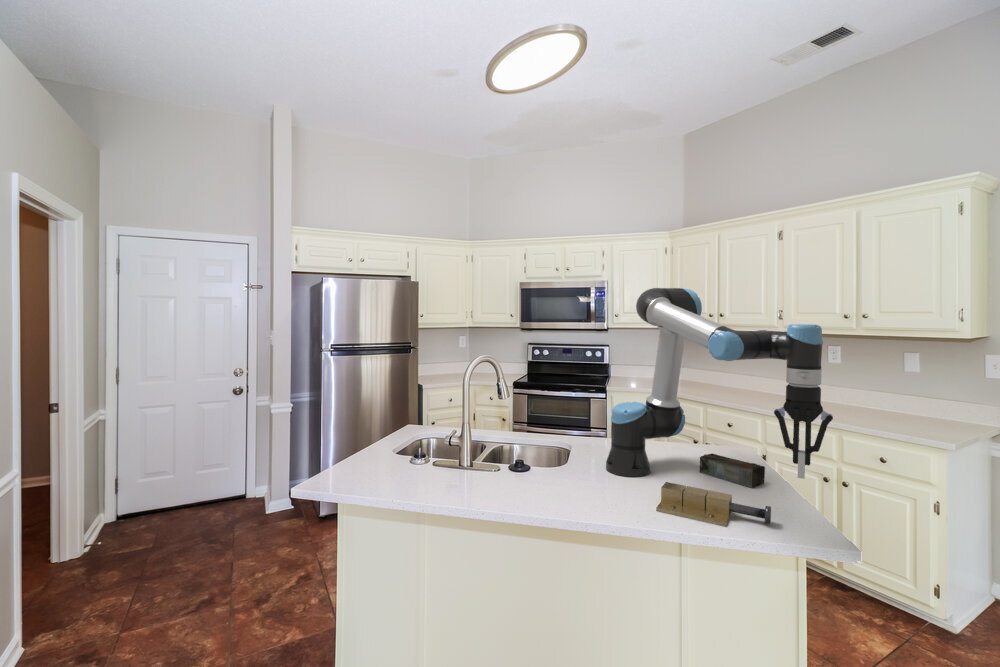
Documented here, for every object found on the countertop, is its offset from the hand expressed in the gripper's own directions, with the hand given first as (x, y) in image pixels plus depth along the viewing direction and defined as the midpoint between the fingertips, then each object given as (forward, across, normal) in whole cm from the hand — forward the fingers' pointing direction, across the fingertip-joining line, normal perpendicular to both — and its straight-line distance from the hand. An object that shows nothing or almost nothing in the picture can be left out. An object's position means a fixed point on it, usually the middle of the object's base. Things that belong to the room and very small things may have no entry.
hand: (801, 476), depth 123 cm
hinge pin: (+14, -16, 0) cm, 21 cm away
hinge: (+14, -25, 0) cm, 29 cm away
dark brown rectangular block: (+14, -21, +34) cm, 42 cm away
